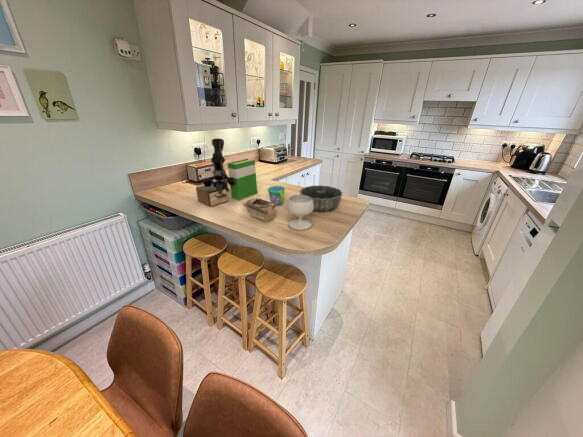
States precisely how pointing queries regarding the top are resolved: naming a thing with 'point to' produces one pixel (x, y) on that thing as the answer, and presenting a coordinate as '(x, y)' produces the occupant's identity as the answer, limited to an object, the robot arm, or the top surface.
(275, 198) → the snack cup
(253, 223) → the top surface
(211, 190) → the cabinet
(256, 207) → the lined basket
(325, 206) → the bundt pan
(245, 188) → the green cereal box
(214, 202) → the drawer
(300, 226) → the chalice
